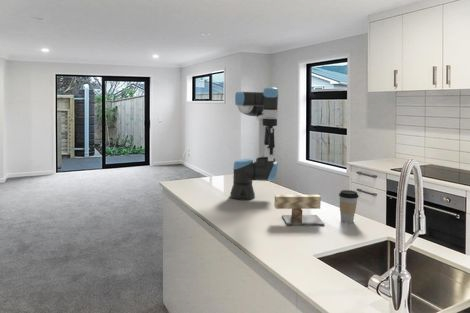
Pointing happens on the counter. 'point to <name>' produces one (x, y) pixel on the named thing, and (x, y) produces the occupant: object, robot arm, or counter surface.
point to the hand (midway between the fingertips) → (268, 158)
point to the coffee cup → (348, 205)
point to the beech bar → (297, 201)
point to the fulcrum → (301, 219)
